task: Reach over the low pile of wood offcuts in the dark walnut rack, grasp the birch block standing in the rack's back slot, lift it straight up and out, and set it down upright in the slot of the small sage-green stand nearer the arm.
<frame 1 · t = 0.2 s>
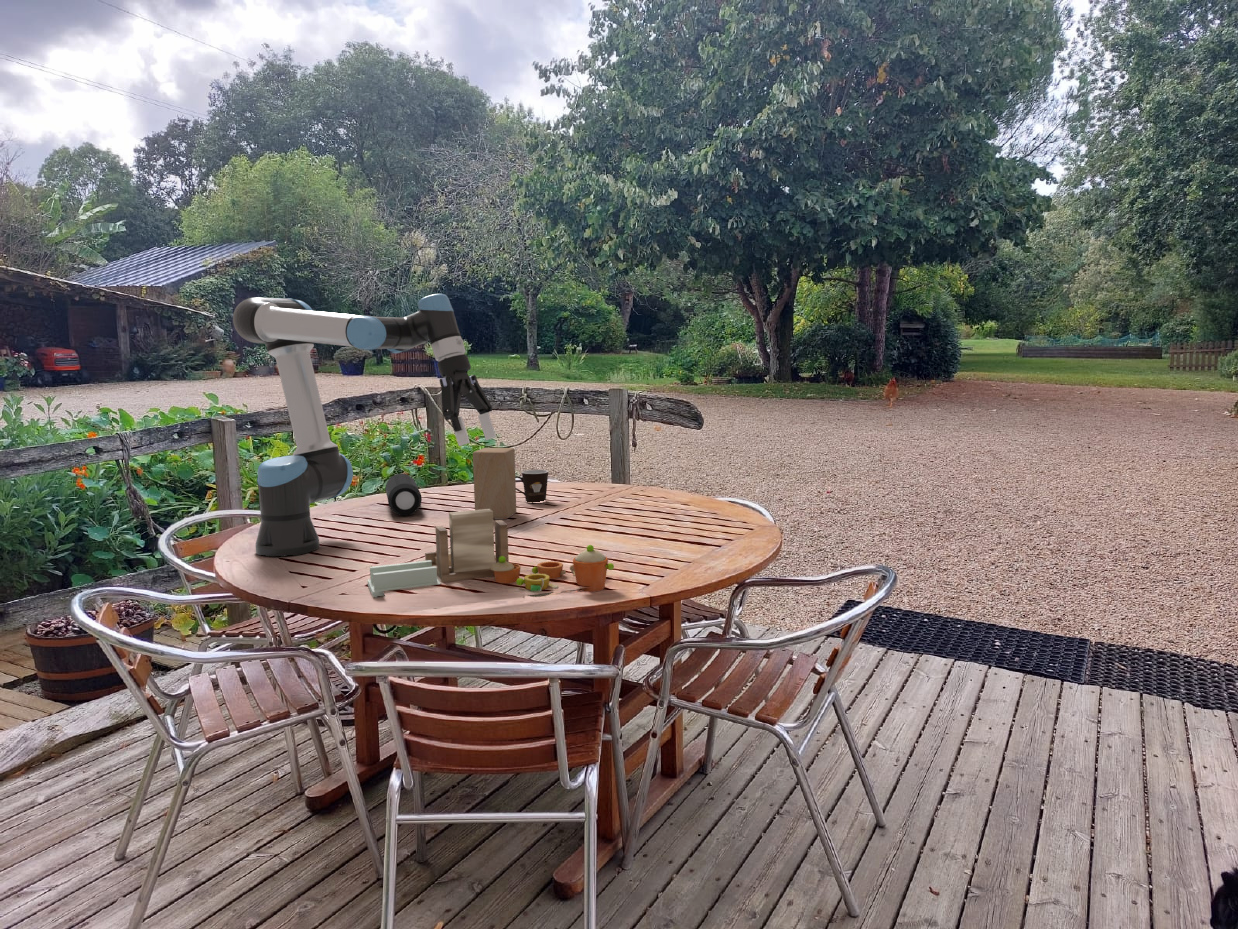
hand: (478, 441, 203), 28 cm above the table, tool tilted 20°, fingers open, 13 cm apart
birch block: (473, 574, 184), point 1 cm above the table, touching rack
coffee mug: (531, 502, 273), on the table
toy tea set: (553, 588, 179), on the table
portable speaker: (403, 510, 263), on the table
wooden block: (496, 516, 252), on the table
stand: (404, 587, 179), on the table
rack: (467, 573, 190), on the table
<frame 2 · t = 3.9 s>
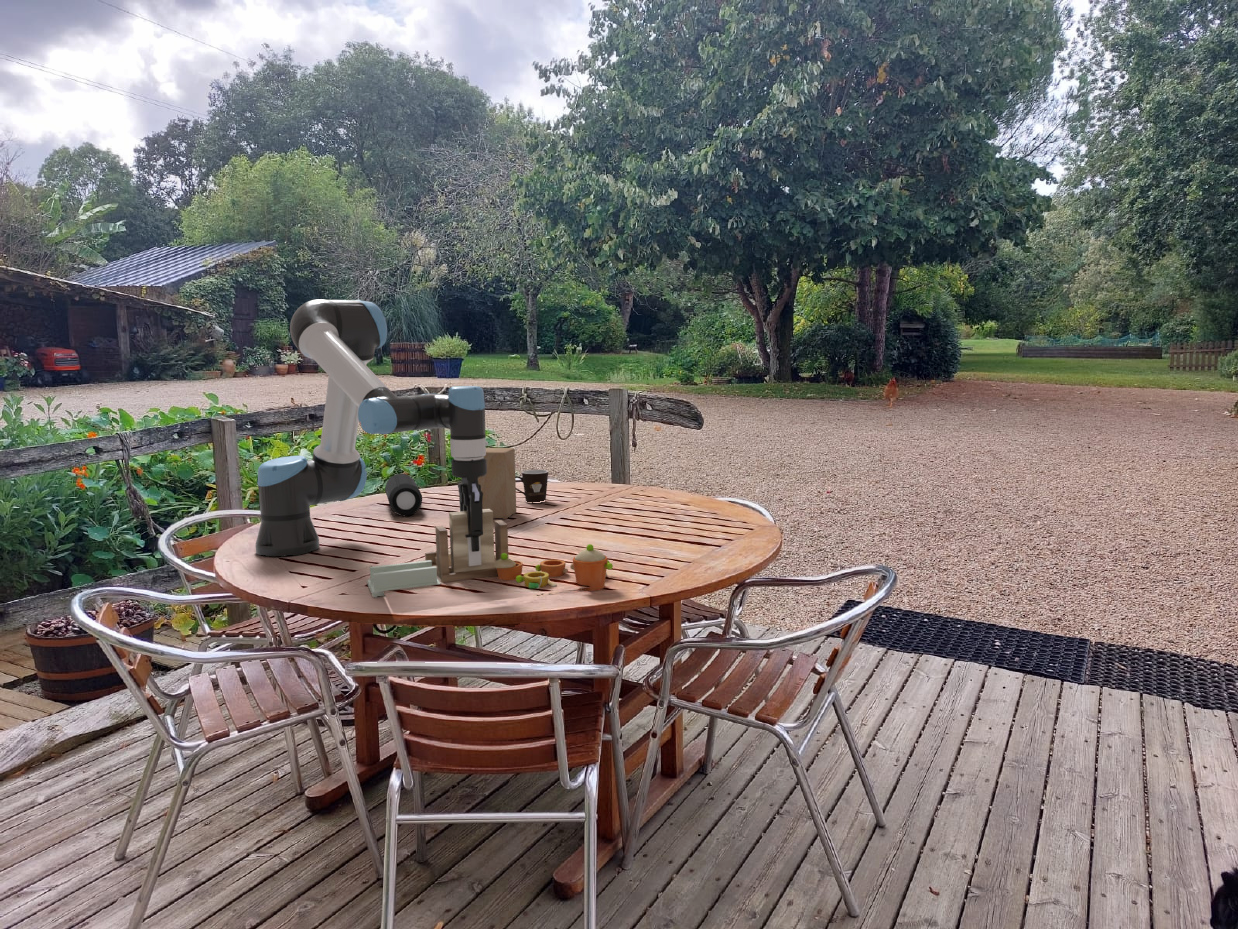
hand: (472, 562, 184), 4 cm above the table, tool pointing down, fingers closed on birch block, 3 cm apart
birch block: (473, 574, 184), point 1 cm above the table, touching gripper, rack
toy tea set: (554, 586, 181), on the table
everything else where it was.
when the fingers open (6 cm above the table, at t = 9.9 s): birch block drops 2 cm, resting on stand.
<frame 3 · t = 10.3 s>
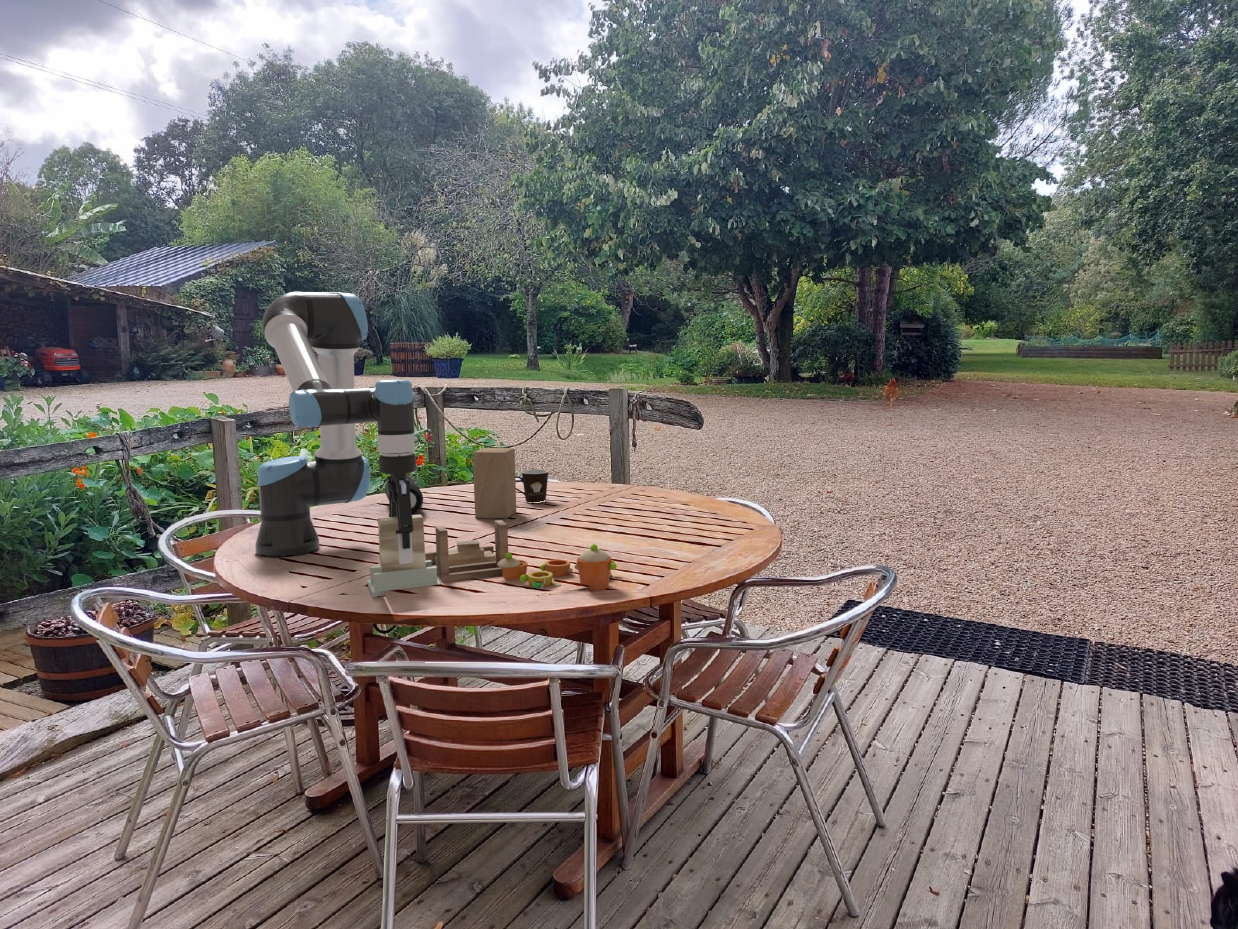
hand: (402, 557, 178), 7 cm above the table, tool pointing down, fingers open, 9 cm apart
birch block: (403, 581, 179), point 1 cm above the table, touching stand
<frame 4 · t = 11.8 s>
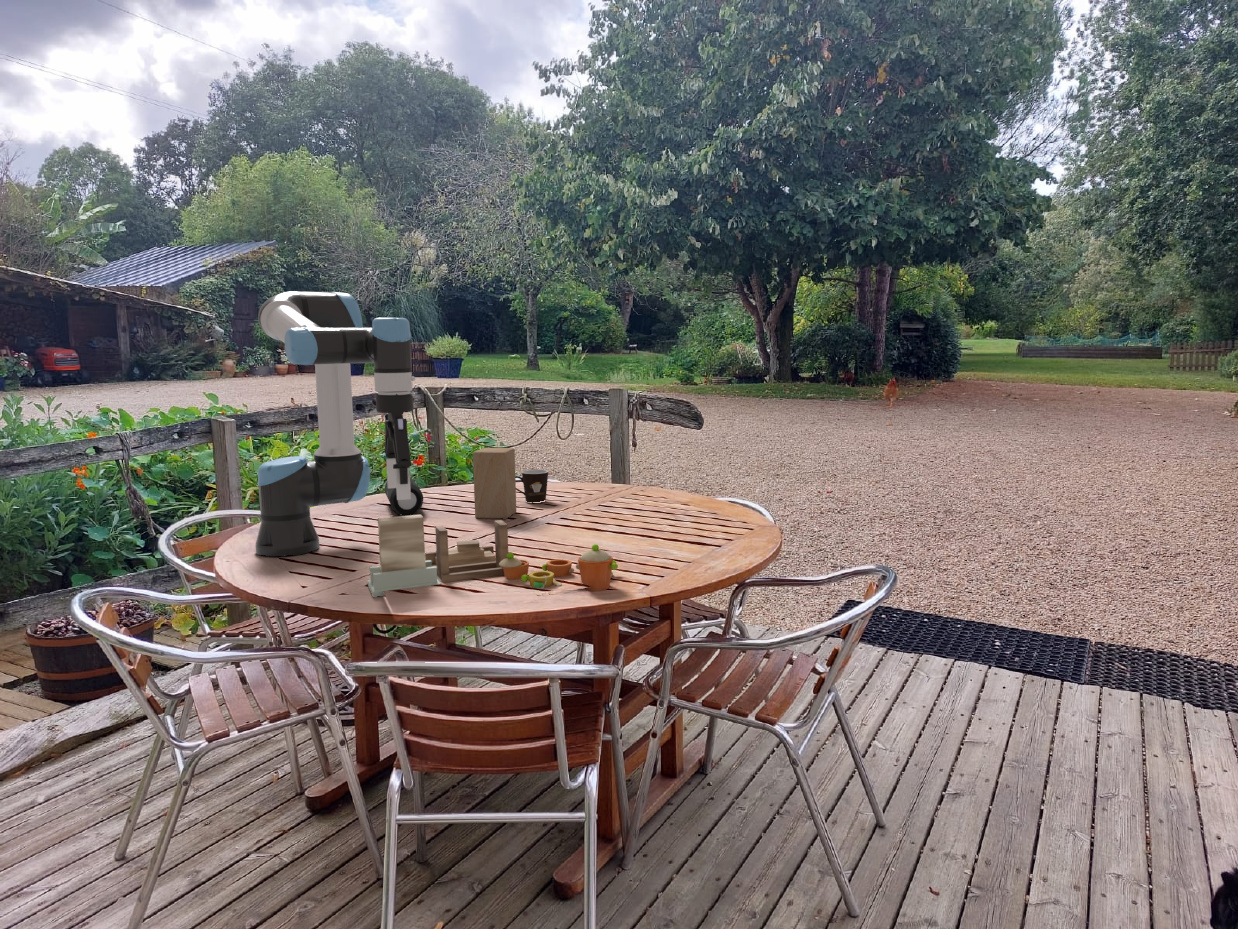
hand: (398, 493, 177), 20 cm above the table, tool pointing down, fingers open, 13 cm apart
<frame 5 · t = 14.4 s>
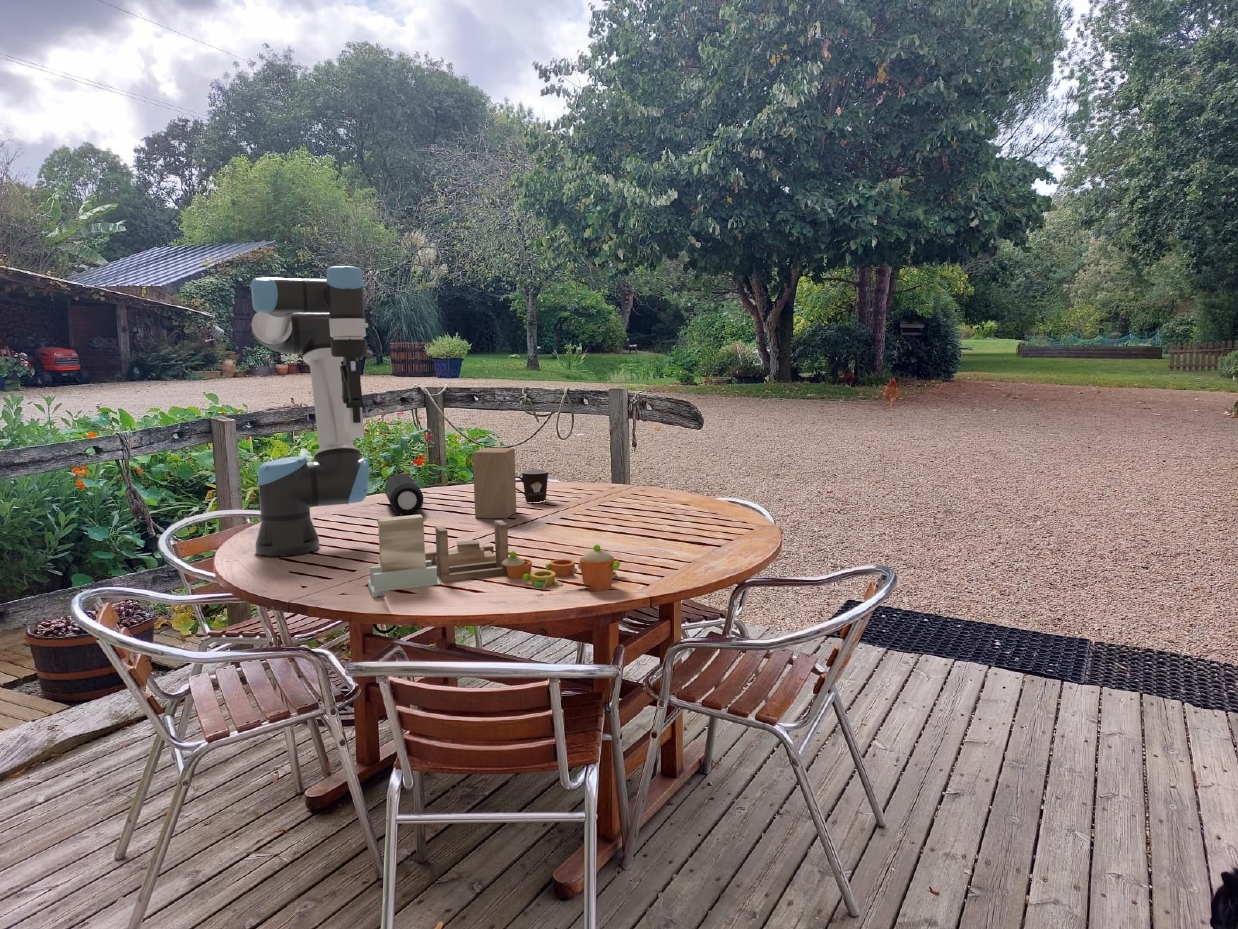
hand: (354, 434, 187), 32 cm above the table, tool pointing down, fingers open, 13 cm apart
at the end: birch block inside the target area on the stand (0.0 cm from its centre), point 1.2 cm above the stand's base; birch block tilted 0°; the gripper is holding nothing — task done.
